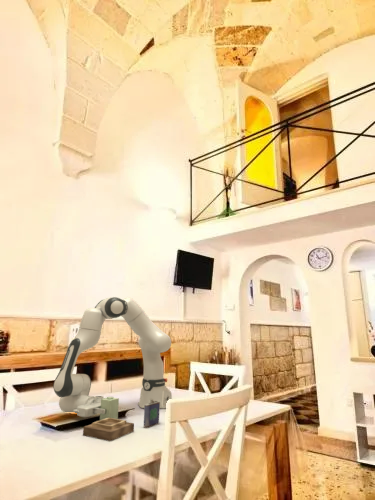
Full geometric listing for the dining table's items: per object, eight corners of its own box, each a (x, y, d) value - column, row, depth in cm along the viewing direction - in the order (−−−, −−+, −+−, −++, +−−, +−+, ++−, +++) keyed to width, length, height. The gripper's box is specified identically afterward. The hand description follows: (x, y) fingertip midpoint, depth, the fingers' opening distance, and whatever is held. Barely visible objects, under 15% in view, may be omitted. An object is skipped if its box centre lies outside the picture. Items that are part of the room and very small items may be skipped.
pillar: (108, 420, 148) (109, 395, 151) (117, 422, 145) (118, 396, 148) (99, 423, 143) (101, 397, 146) (109, 425, 141) (110, 399, 143)
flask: (146, 428, 137) (147, 400, 140) (141, 427, 139) (142, 399, 142) (160, 423, 145) (161, 397, 147) (155, 422, 146) (156, 396, 149)
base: (107, 426, 140) (108, 415, 141) (133, 431, 133) (134, 420, 134) (82, 435, 128) (83, 423, 129) (110, 441, 121) (111, 428, 122)
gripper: (71, 403, 144) (94, 406, 137) (103, 395, 161) (125, 398, 155) (69, 418, 142) (93, 423, 136) (102, 409, 160) (125, 412, 153)
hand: (110, 409), depth 145 cm, fingers closed on pillar, 5 cm apart
